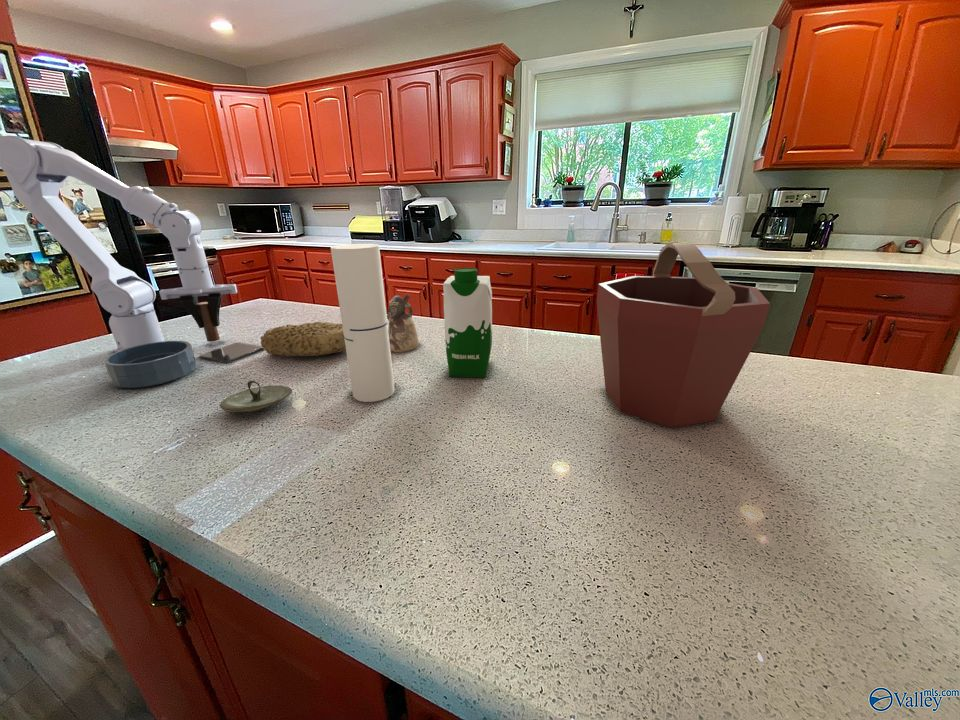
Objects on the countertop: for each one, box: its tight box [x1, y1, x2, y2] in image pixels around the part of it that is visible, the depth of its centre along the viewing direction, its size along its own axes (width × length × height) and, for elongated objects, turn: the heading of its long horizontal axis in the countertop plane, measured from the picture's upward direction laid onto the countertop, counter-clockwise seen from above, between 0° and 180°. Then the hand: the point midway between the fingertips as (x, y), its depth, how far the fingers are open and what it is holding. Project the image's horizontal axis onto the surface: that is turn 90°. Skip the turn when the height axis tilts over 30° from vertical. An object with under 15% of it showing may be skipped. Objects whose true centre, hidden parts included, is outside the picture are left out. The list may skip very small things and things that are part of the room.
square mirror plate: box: [199, 342, 264, 364], centre depth 89 cm, size 9×9×1 cm
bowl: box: [103, 340, 198, 388], centre depth 77 cm, size 13×13×5 cm
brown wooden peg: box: [197, 301, 221, 343], centre depth 93 cm, size 3×3×9 cm
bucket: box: [596, 242, 771, 429], centre depth 61 cm, size 24×22×25 cm
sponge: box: [260, 321, 346, 357], centre depth 87 cm, size 13×8×20 cm
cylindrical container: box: [330, 243, 395, 403], centre depth 65 cm, size 7×7×25 cm
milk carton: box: [442, 267, 493, 378], centre depth 75 cm, size 9×9×20 cm
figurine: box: [386, 293, 419, 353], centre depth 89 cm, size 7×7×12 cm
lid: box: [219, 380, 293, 413], centre depth 65 cm, size 11×10×5 cm
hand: (209, 326), depth 93 cm, fingers closed on brown wooden peg, 2 cm apart
